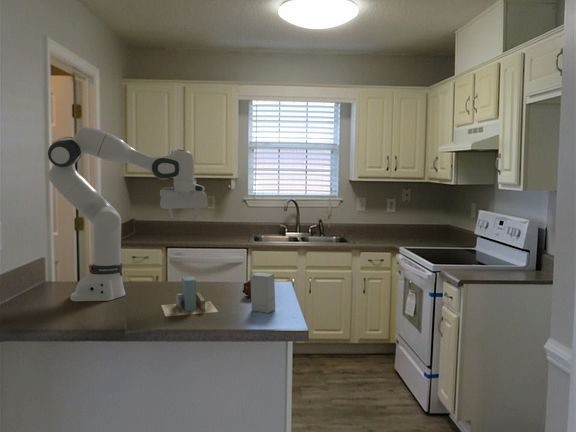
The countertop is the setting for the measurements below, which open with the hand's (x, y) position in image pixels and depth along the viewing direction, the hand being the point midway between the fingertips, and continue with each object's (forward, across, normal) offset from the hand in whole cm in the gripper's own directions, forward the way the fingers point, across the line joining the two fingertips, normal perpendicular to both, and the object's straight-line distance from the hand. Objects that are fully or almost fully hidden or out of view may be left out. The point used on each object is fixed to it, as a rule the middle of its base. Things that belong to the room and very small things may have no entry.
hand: (184, 218), depth 219 cm
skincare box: (+34, +26, -34) cm, 55 cm away
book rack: (+34, -2, -26) cm, 43 cm away
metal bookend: (+33, -6, -26) cm, 42 cm away
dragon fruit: (+34, +28, -12) cm, 46 cm away
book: (+33, -2, -26) cm, 42 cm away
